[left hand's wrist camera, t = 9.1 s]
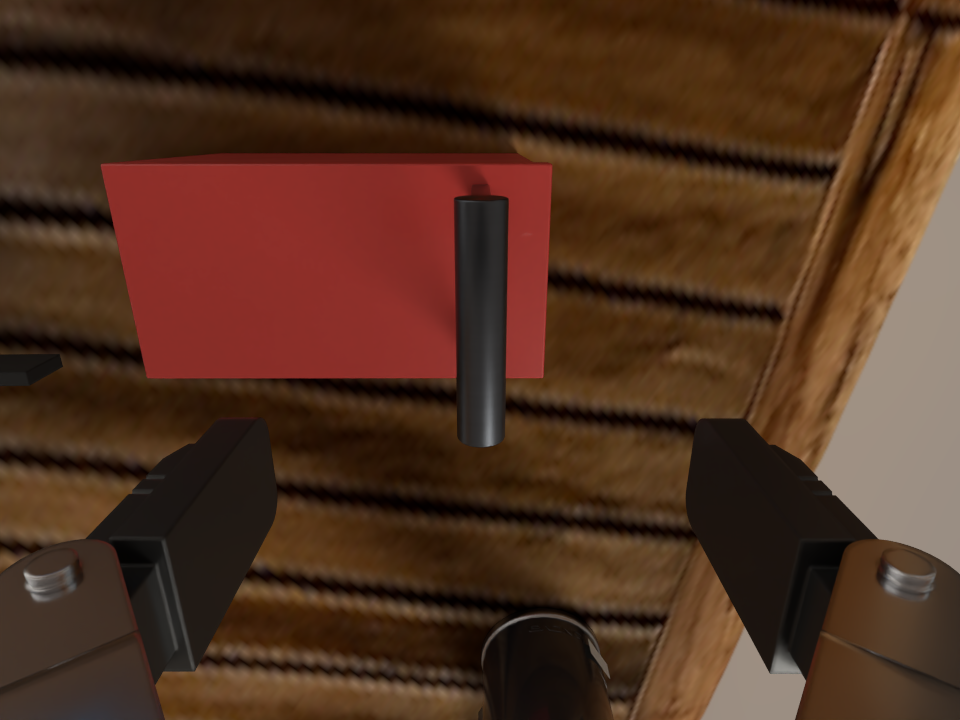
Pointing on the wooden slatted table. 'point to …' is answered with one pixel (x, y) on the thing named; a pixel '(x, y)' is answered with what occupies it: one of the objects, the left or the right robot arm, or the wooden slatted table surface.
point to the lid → (340, 272)
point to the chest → (347, 157)
